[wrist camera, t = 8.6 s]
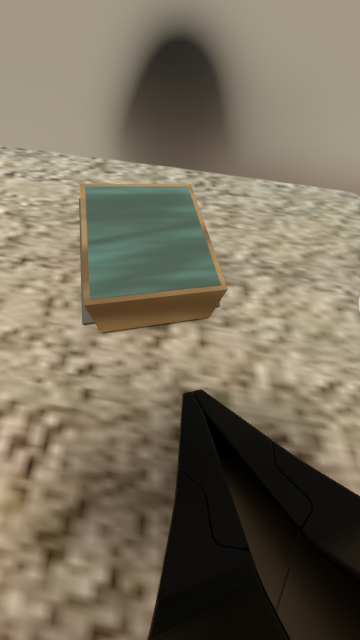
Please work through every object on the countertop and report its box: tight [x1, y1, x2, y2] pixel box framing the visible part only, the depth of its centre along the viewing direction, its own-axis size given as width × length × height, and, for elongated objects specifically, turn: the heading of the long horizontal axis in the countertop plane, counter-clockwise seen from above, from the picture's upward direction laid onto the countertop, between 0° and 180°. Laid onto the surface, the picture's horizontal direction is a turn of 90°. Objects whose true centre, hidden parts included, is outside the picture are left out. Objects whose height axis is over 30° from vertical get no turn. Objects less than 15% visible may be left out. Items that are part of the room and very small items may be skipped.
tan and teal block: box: [80, 184, 227, 333], centre depth 18 cm, size 5×10×12 cm
